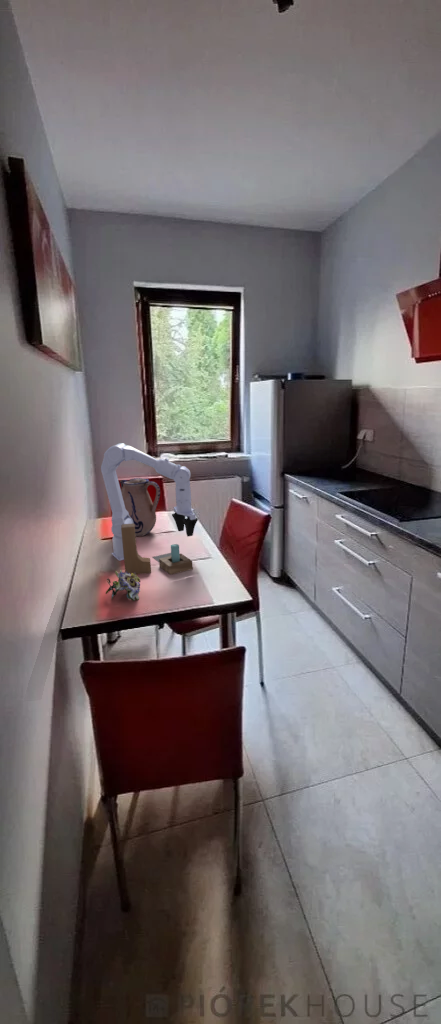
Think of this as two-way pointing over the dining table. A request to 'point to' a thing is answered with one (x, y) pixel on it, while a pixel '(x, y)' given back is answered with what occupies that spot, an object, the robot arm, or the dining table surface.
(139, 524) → the ceramic pitcher
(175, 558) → the peg
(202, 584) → the dining table surface
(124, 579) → the passion flower
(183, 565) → the hole block
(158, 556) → the mat
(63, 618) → the dining table surface
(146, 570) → the wooden block
